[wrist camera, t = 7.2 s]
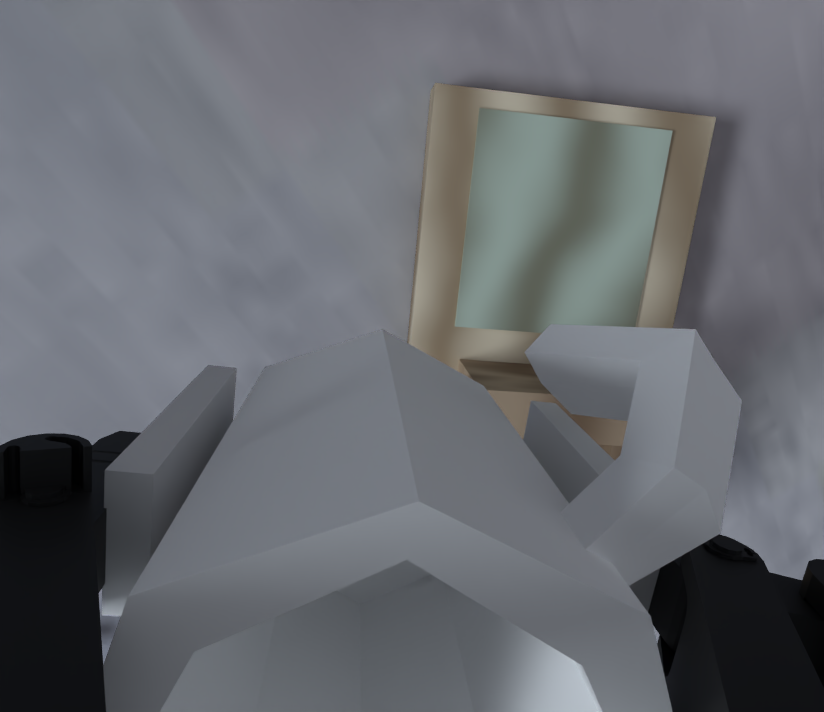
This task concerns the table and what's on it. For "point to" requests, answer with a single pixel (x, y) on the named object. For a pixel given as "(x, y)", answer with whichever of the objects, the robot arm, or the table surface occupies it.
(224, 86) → the table surface
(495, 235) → the square hole base block
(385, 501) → the mug
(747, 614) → the robot arm
